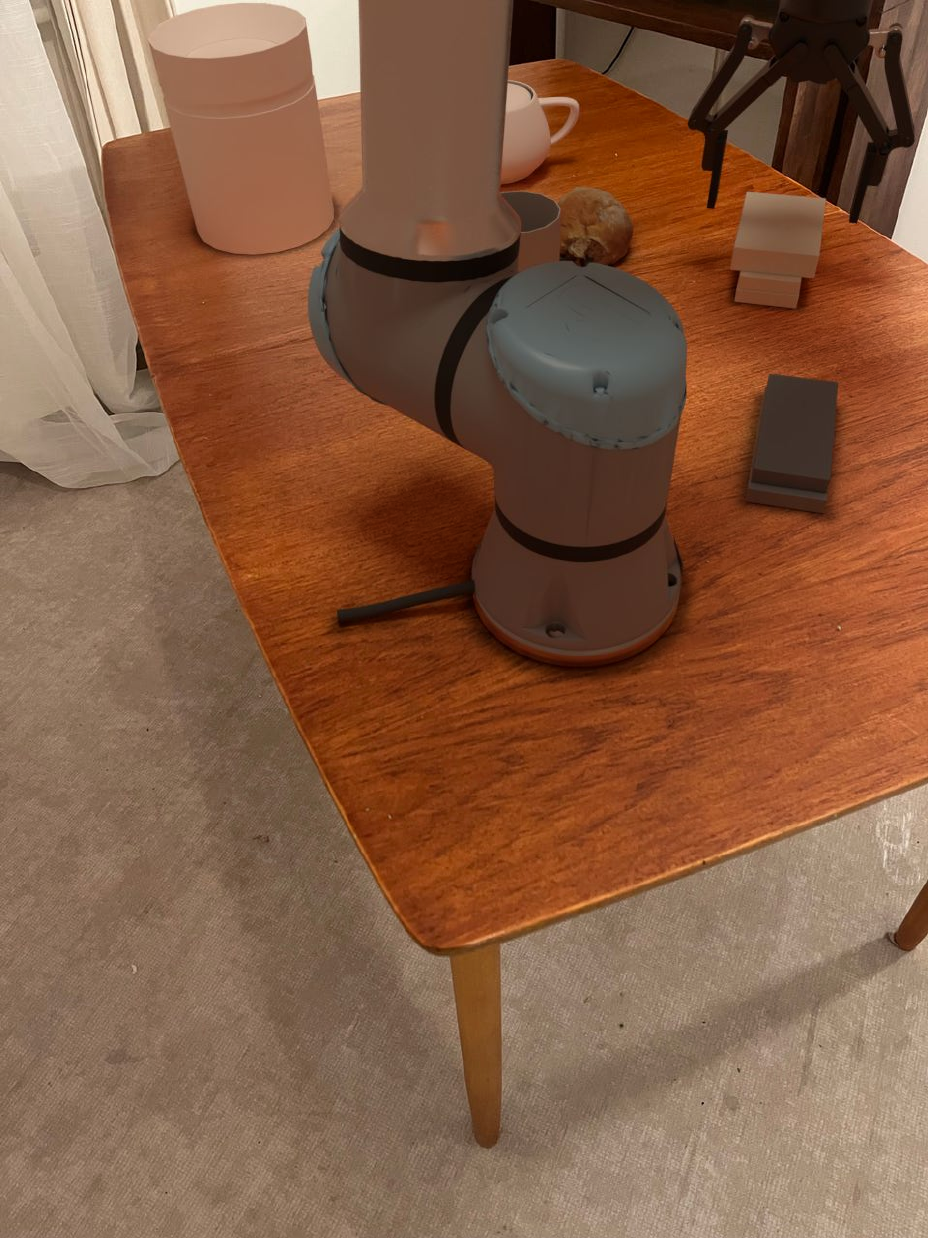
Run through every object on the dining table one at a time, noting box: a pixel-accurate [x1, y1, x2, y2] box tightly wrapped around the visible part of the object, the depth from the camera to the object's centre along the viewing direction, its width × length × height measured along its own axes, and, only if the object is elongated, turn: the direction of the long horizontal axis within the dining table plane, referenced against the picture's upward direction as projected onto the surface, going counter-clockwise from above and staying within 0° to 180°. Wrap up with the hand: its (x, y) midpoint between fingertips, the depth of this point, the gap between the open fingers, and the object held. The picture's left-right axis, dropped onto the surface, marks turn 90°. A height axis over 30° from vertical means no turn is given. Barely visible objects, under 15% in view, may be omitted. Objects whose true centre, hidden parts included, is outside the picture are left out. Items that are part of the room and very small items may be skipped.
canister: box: [147, 2, 335, 256], centre depth 107 cm, size 16×16×20 cm
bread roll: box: [556, 186, 634, 267], centre depth 105 cm, size 10×10×8 cm
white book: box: [729, 191, 827, 279], centre depth 99 cm, size 12×8×2 cm, turn 163°
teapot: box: [500, 79, 580, 186], centre depth 116 cm, size 22×14×11 cm, turn 95°
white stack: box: [734, 271, 803, 309], centre depth 101 cm, size 14×6×3 cm, turn 163°
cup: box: [500, 190, 561, 272], centre depth 96 cm, size 8×8×10 cm
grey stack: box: [745, 373, 839, 514], centre depth 81 cm, size 14×6×3 cm, turn 163°
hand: (781, 209), depth 97 cm, fingers open, 13 cm apart
